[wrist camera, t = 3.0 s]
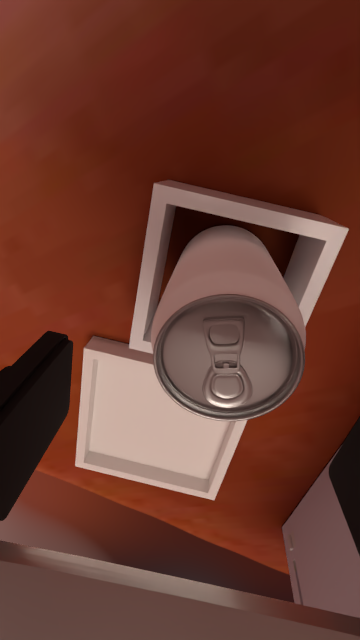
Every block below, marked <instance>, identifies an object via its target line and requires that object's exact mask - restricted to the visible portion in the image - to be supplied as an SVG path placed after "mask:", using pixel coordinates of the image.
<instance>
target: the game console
mask: <svg viewBox="0 0 360 640" xmlns="http://www.w3.org/2000/svg"><path fill="white" fill-rule="evenodd" d="M341 446H342V445H341ZM339 449H340V448H339ZM338 451H339V450H338ZM338 451H337V452H338ZM337 452H336V454H337ZM336 454H335V455H334V456H333V458H332V459H331V461H330V462H329V463H328V465H327V466H326V467H325V469H324V470H323V472H322V473H321V474H320V476H319V477H318V479H317V480H316V481H315V483H314V484H313V485H312V487H311V488H310V490H309V491H308V492H307V494H306V495H305V496H304V498H303V499H302V501H301V502H300V503H299V505H298V506H297V508H296V509H295V510H294V512H293V513H292V514H291V516H290V517H289V519H288V520H287V521H286V523H285V524H284V525H283V526H282V531H283V537H284V543H285V549H286V555H287V561H288V566H289V572H290V578H291V584H292V590H293V596H294V601H295V604H300V605H304V606H309V607H313V608H318V609H322V610H327V611H331V612H335V613H340V614H344V615H348V616H353V617H357V618H360V556H359V553H358V551H357V548H356V546H355V543H354V540H353V538H352V535H351V533H350V530H349V527H348V525H347V522H346V519H345V517H344V514H343V512H342V509H341V506H340V504H339V501H338V499H337V496H336V493H335V491H334V488H333V485H332V483H331V480H330V478H329V466H330V464H331V462H332V460H333V459H334V457H335V456H336Z"/></svg>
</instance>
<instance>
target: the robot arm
mask: <svg viewBox="0 0 360 640" xmlns="http://www.w3.org/2000/svg"><path fill="white" fill-rule="evenodd" d="M72 354H73V342H72V341H70V340H68V336H67V335H65V334H61V333H56V332H52V331H47V332H46V333H45V334H44V335H43V336H42V337H41V338H40V339H39V340H38V341H37V342H36V343H34V344H33V345H32V346H31V347H30V348H29V349H28V350H27V351H26V352H25V353H24V354H23V355H22V356H21V357H20V358H19V359H18V360H17V361H16V362H15V363H14V364H13V365H12V366H7V367H5V368H4V369H2V370H1V371H0V520H1V521H3V520H4V519H5V518H6V517H7V515H8V514H9V512H10V510H11V509H12V507H13V505H14V504H15V502H16V500H17V499H18V497H19V495H20V494H21V492H22V490H23V489H24V487H25V485H26V484H27V482H28V480H29V478H30V477H31V475H32V473H33V472H34V470H35V468H36V467H37V465H38V463H39V462H40V460H41V458H42V457H43V455H44V453H45V451H46V450H47V448H48V446H49V445H50V443H51V441H52V440H53V438H54V436H55V435H56V433H57V431H58V429H59V428H60V426H61V424H62V423H63V421H64V419H65V418H66V416H67V413H68V410H69V403H70V386H71V370H72ZM329 478H330V480H331V483H332V485H333V488H334V491H335V493H336V496H337V499H338V501H339V504H340V506H341V509H342V512H343V514H344V517H345V519H346V522H347V525H348V527H349V530H350V533H351V535H352V538H353V540H354V543H355V546H356V548H357V551H358V553H359V556H360V417H359V418H358V420H357V422H356V423H355V425H354V426H353V428H352V430H351V431H350V433H349V435H348V436H347V438H346V439H345V441H344V443H343V444H342V446H341V447H340V449H339V451H338V452H337V454H336V456H335V457H334V459H333V460H332V462H331V464H330V466H329ZM0 640H360V618H357V617H353V616H348V615H344V614H340V613H335V612H331V611H327V610H322V609H318V608H313V607H309V606H304V605H300V604H295V603H291V602H286V601H282V600H277V599H273V598H269V597H264V596H260V595H255V594H250V593H246V592H241V591H237V590H232V589H228V588H223V587H218V586H214V585H210V584H205V583H200V582H196V581H192V580H187V579H183V578H178V577H173V576H169V575H164V574H159V573H155V572H150V571H146V570H141V569H137V568H132V567H127V566H122V565H118V564H113V563H109V562H104V561H100V560H95V559H90V558H86V557H81V556H76V555H71V554H66V553H61V552H56V551H51V550H46V549H41V548H35V547H31V546H25V545H20V544H15V543H10V542H5V541H0Z"/></svg>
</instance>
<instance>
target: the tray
mask: <svg viewBox="0 0 360 640" xmlns="http://www.w3.org/2000/svg"><path fill="white" fill-rule="evenodd" d="M246 422H247V420H242V421H217V420H211V419H207V418H203V417H200V416H198V415H195V414H193V413H191V412H189V411H187V410H185V409H184V408H182V407H181V406H179V405H178V404H177V403H175V402H174V401H173V400H172V399H171V398H170V397H169V396H168V395H167V394H166V392H165V391H164V390H163V388H162V387H161V385H160V383H159V381H158V379H157V376H156V374H155V370H154V365H153V354H151V353H147V352H143V351H139V350H135V349H130V348H129V344H126V343H122V342H118V341H114V340H109V339H105V338H101V337H97V336H93V337H92V338H91V340H90V341H89V342H88V344H87V345H86V346H85V348H84V356H83V370H82V383H81V396H80V410H79V423H78V437H77V450H76V463H75V466H77V467H81V468H85V469H89V470H93V471H97V472H101V473H105V474H109V475H113V476H117V477H121V478H126V479H130V480H134V481H138V482H142V483H146V484H150V485H154V486H158V487H162V488H166V489H170V490H174V491H178V492H182V493H186V494H190V495H195V496H199V497H203V498H207V499H211V500H215V497H216V495H217V492H218V490H219V487H220V485H221V483H222V480H223V478H224V475H225V473H226V470H227V468H228V466H229V463H230V461H231V458H232V456H233V454H234V451H235V449H236V446H237V444H238V441H239V439H240V437H241V434H242V432H243V429H244V427H245V425H246Z"/></svg>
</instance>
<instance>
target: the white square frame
mask: <svg viewBox="0 0 360 640" xmlns="http://www.w3.org/2000/svg"><path fill="white" fill-rule="evenodd" d="M176 206H180V207H184V208H188V209H193V210H197V211H201V212H206V213H210V214H214V215H218V216H223V217H227V218H231V219H236V220H240V221H244V222H248V223H253V224H257V225H261V226H265V227H270V228H274V229H278V230H283V231H287V232H291V233H295V234H300V235H299V238H298V240H297V243H296V246H295V248H294V251H293V254H292V256H291V259H290V262H289V264H288V267H287V270H286V272H285V275H284V277H283V279H284V281H285V282H286V284H287V286H288V288H289V290H290V292H291V293H292V295H293V297H294V299H295V301H296V303H297V305H298V307H299V309H300V312H301V314H302V317H303V321H304V325H305V326H306V324H307V322H308V320H309V317H310V315H311V313H312V311H313V308H314V306H315V304H316V302H317V299H318V297H319V295H320V293H321V290H322V288H323V286H324V284H325V281H326V279H327V277H328V275H329V272H330V270H331V268H332V266H333V263H334V261H335V259H336V257H337V254H338V252H339V250H340V248H341V246H342V243H343V241H344V239H345V237H346V234H347V232H348V230H349V228H347V227H344V226H342V225H340V224H338V223H336V222H334V221H332V220H330V219H328V218H326V217H324V216H322V215H318V214H314V213H310V212H306V211H301V210H297V209H293V208H288V207H284V206H280V205H275V204H271V203H267V202H263V201H258V200H254V199H250V198H245V197H241V196H237V195H232V194H228V193H224V192H220V191H215V190H211V189H207V188H202V187H198V186H194V185H190V184H185V183H181V182H177V181H172V180H165V181H161V182H157V183H154V186H153V193H152V199H151V206H150V212H149V219H148V225H147V232H146V238H145V245H144V251H143V258H142V265H141V271H140V278H139V284H138V291H137V297H136V304H135V310H134V317H133V323H132V330H131V336H130V343H129V348H130V349H135V350H139V351H143V352H147V353H151V354H153V350H152V345H151V329H152V324H153V319H154V316H155V313H156V310H157V306H158V300H159V295H160V290H161V284H162V279H163V274H164V269H165V263H166V258H167V253H168V247H169V242H170V237H171V232H172V226H173V221H174V216H175V211H176Z"/></svg>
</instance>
